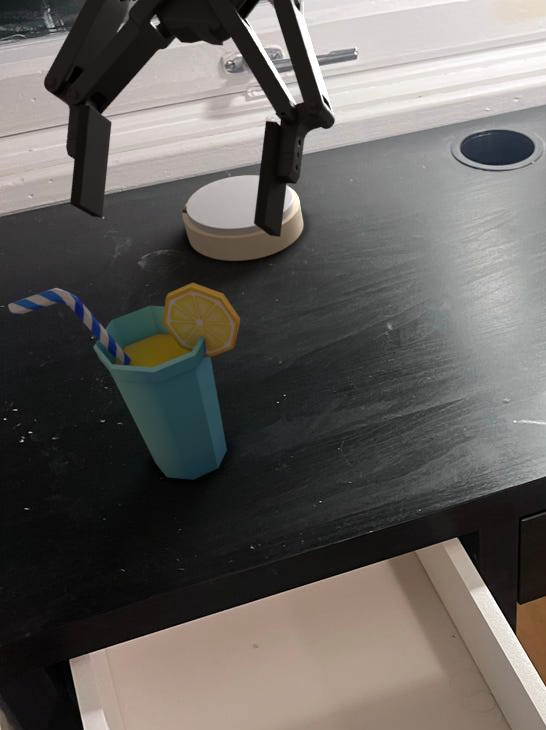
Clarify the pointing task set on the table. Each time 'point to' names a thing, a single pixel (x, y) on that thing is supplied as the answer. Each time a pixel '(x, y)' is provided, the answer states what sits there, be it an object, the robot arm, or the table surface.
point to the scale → (237, 220)
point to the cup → (165, 370)
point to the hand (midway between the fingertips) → (175, 221)
